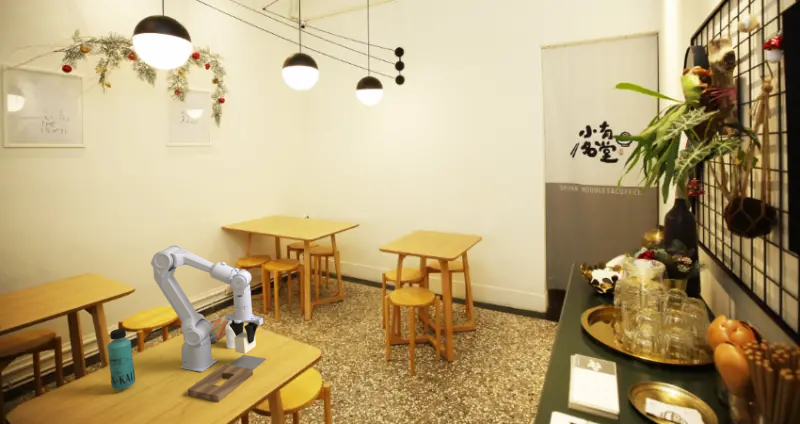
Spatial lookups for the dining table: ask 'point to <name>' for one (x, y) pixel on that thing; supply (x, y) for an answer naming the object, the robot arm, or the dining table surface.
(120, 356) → the beverage bottle
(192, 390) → the block
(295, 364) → the dining table surface
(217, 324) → the tin
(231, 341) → the roll
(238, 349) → the plug
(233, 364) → the mat
